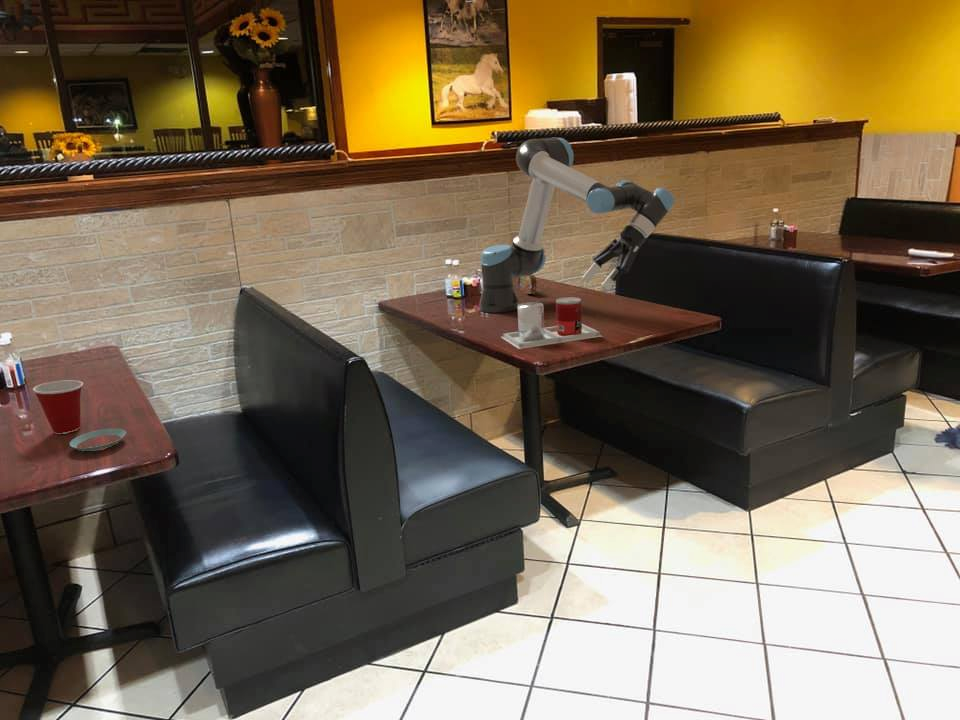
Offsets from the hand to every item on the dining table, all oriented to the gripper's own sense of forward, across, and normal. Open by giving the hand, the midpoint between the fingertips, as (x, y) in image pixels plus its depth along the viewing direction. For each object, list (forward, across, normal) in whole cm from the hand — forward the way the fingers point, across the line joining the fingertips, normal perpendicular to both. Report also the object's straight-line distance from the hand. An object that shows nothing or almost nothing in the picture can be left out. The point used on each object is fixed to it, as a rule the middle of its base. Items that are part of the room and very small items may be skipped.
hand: (594, 284), depth 237 cm
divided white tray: (+23, 0, -1) cm, 23 cm away
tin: (+8, +73, -16) cm, 75 cm away
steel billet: (+26, 0, +5) cm, 27 cm away
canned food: (+17, 0, -4) cm, 18 cm away
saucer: (+112, -30, +89) cm, 146 cm away
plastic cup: (+119, -15, +95) cm, 153 cm away
